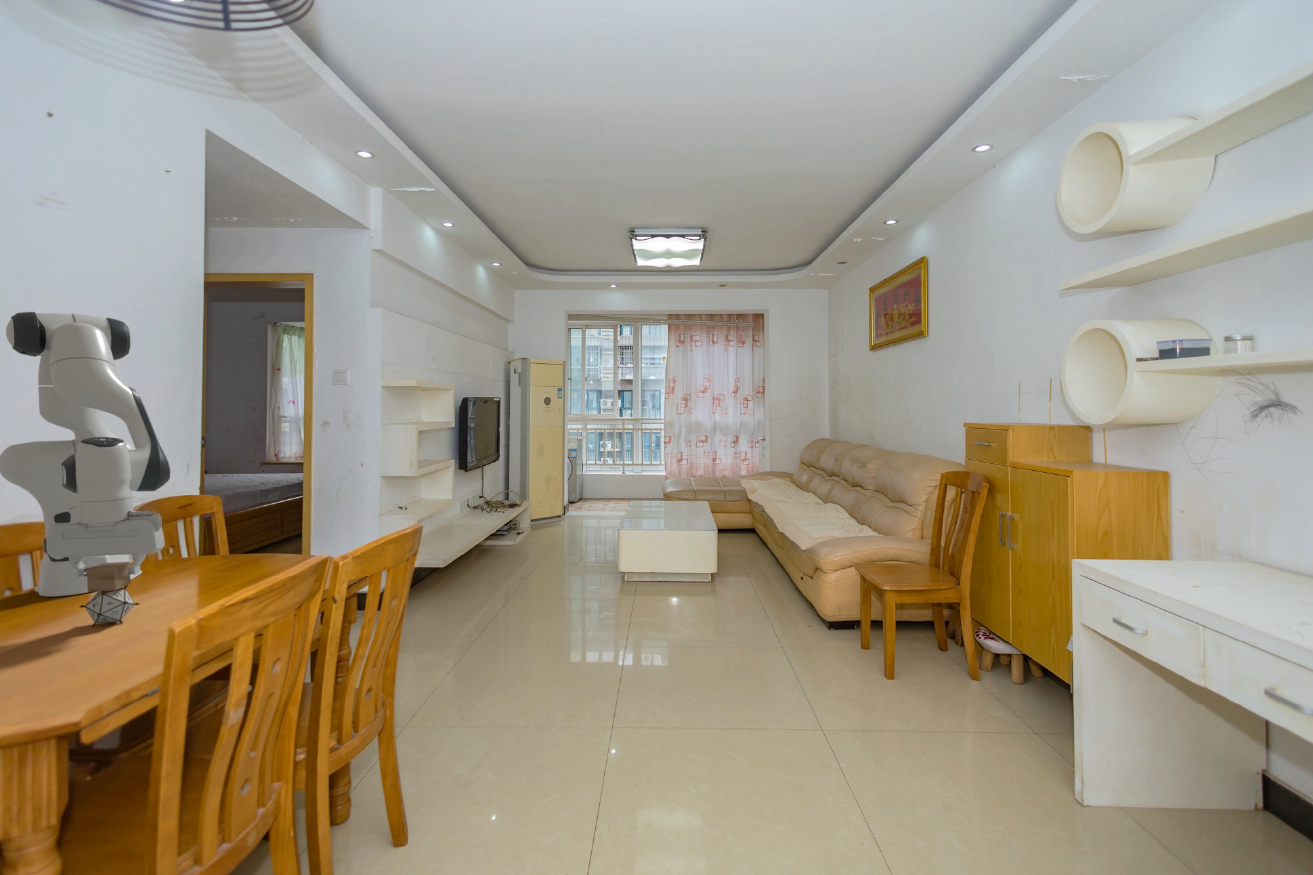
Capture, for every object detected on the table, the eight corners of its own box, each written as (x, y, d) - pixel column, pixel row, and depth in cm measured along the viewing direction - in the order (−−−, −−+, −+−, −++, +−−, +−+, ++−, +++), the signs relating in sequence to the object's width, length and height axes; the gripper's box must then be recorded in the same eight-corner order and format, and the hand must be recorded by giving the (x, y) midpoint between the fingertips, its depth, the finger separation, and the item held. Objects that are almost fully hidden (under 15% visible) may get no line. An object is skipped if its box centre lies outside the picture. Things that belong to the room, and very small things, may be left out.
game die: (111, 642, 128) (93, 615, 122) (82, 626, 129) (62, 598, 123) (153, 611, 135) (138, 584, 129) (125, 596, 136) (108, 568, 130)
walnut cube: (104, 585, 131) (103, 562, 131) (130, 583, 132) (129, 561, 132) (87, 591, 126) (86, 568, 126) (115, 590, 127) (114, 567, 127)
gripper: (169, 508, 133) (172, 568, 134) (62, 511, 129) (65, 573, 130) (151, 512, 127) (154, 576, 128) (38, 516, 123) (42, 581, 124)
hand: (108, 575), depth 129 cm, fingers open, 8 cm apart
